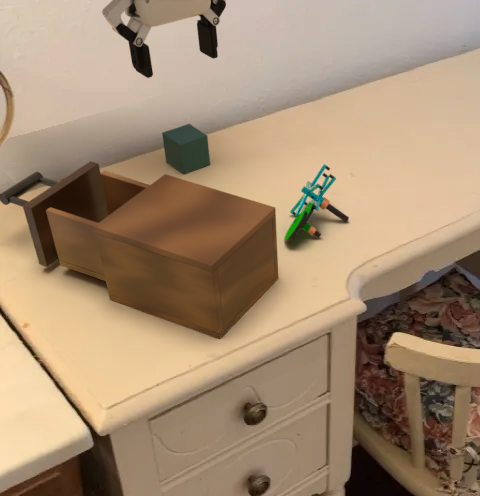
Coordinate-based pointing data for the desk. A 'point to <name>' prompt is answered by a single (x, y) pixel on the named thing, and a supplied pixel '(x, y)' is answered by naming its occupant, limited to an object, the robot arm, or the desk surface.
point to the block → (186, 148)
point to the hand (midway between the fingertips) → (177, 64)
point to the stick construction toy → (312, 206)
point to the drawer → (72, 214)
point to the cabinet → (189, 254)
